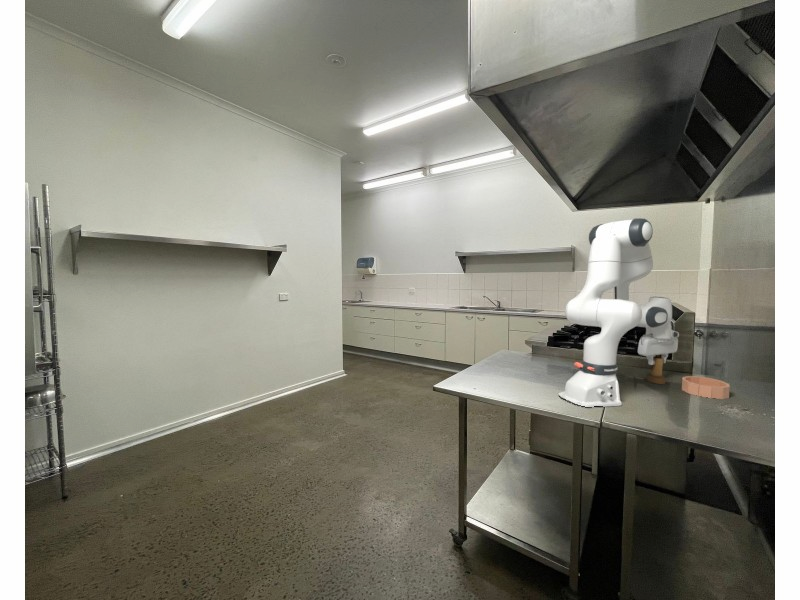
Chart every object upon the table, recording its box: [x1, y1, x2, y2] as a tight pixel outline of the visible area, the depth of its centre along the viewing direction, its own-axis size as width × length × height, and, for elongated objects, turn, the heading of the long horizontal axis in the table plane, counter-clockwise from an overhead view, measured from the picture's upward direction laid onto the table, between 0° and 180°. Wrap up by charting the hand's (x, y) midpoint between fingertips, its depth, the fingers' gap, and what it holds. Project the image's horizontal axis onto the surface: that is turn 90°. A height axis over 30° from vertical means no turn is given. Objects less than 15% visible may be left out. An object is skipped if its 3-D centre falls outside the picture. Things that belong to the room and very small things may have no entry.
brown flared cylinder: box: [646, 354, 667, 385], centre depth 148 cm, size 7×6×18 cm
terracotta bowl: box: [681, 375, 731, 400], centre depth 134 cm, size 14×14×4 cm
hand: (656, 363), depth 148 cm, fingers open, 5 cm apart
